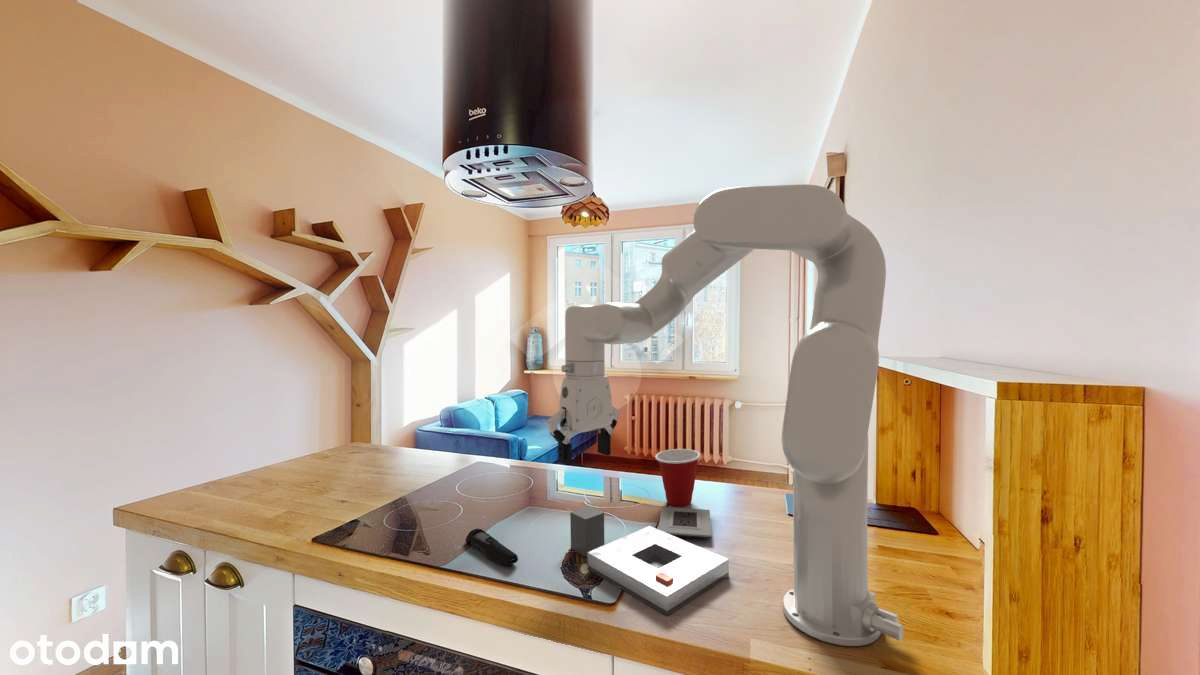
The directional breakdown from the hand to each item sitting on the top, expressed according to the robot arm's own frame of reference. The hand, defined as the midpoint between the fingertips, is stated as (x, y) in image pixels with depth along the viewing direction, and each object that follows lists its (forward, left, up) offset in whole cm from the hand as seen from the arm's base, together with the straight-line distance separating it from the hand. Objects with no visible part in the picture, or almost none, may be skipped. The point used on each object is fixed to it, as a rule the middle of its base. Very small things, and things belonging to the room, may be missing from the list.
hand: (585, 458), depth 88 cm
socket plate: (-15, -3, -17) cm, 23 cm away
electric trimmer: (+11, +14, -18) cm, 25 cm away
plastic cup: (+3, -31, -18) cm, 36 cm away
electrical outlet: (-7, -21, -18) cm, 29 cm away
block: (0, 0, -17) cm, 17 cm away
